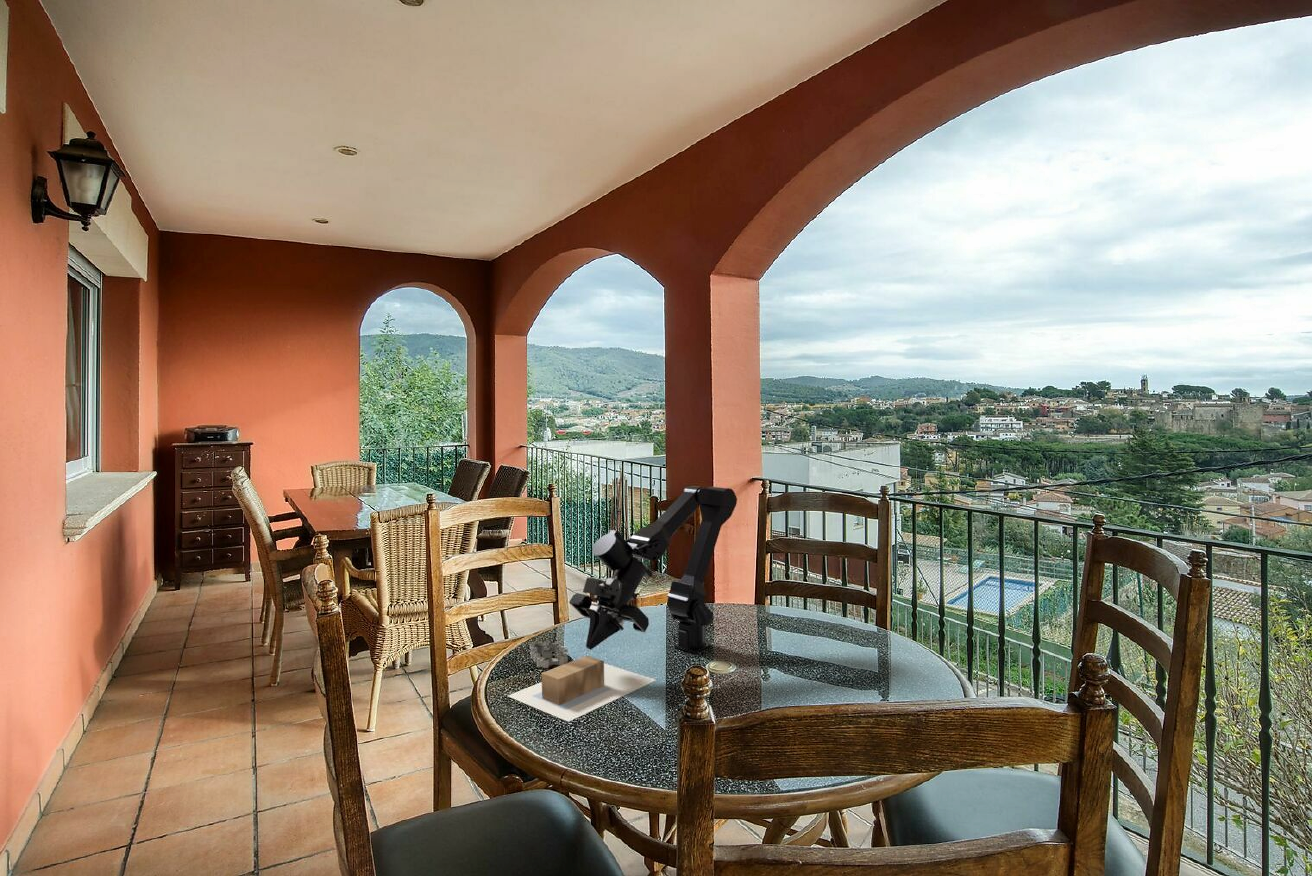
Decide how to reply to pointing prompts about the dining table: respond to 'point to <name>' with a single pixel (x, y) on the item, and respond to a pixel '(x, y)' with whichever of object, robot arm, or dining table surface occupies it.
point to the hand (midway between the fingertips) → (588, 648)
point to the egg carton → (548, 654)
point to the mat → (614, 688)
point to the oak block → (572, 680)
